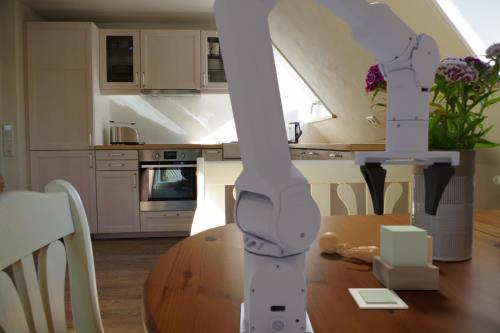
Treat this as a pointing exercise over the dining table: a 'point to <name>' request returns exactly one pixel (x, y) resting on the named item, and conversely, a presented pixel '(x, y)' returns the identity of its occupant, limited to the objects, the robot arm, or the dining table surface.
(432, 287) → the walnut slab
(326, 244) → the figurine
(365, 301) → the swatch
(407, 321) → the dining table surface
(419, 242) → the sage block
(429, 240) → the terracotta block
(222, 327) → the dining table surface
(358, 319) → the dining table surface
